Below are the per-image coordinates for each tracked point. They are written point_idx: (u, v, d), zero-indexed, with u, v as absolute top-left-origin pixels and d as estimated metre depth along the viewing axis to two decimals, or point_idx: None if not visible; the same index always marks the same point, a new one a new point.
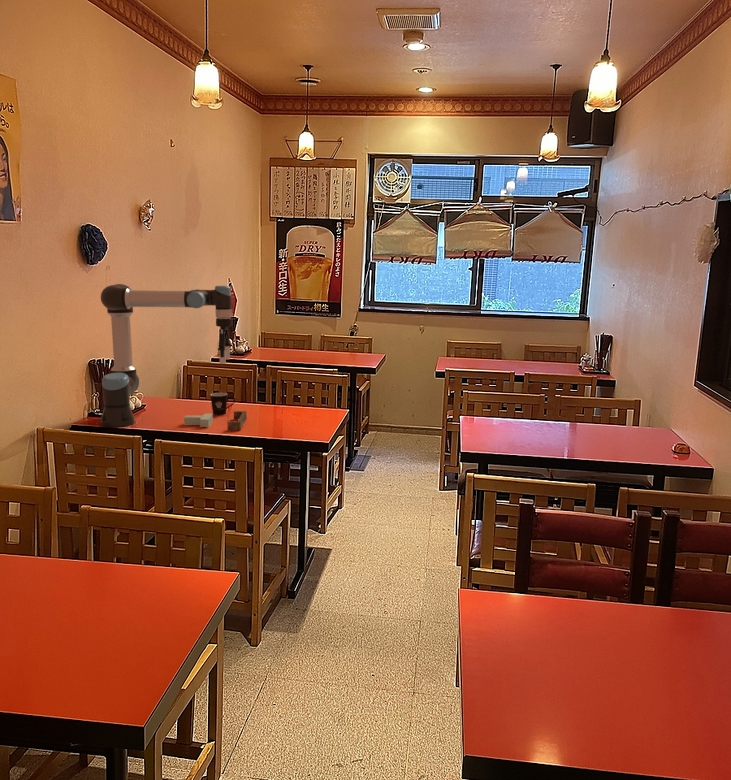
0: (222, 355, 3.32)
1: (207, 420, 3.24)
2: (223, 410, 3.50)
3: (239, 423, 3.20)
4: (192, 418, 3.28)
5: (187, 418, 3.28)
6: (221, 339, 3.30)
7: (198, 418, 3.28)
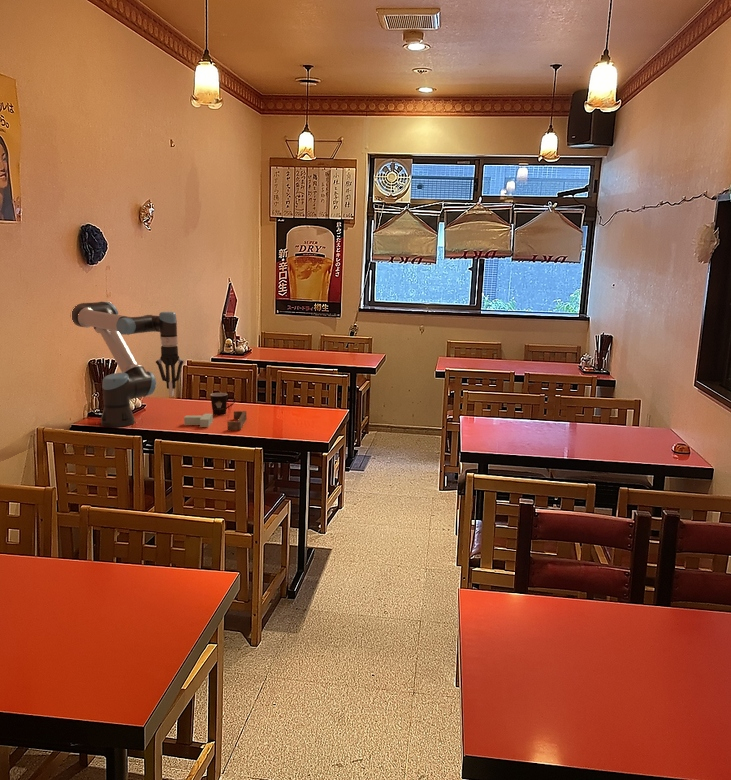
0: None
1: (207, 420, 3.24)
2: (223, 410, 3.50)
3: (239, 423, 3.20)
4: (192, 418, 3.28)
5: (187, 418, 3.28)
6: None
7: (198, 418, 3.28)
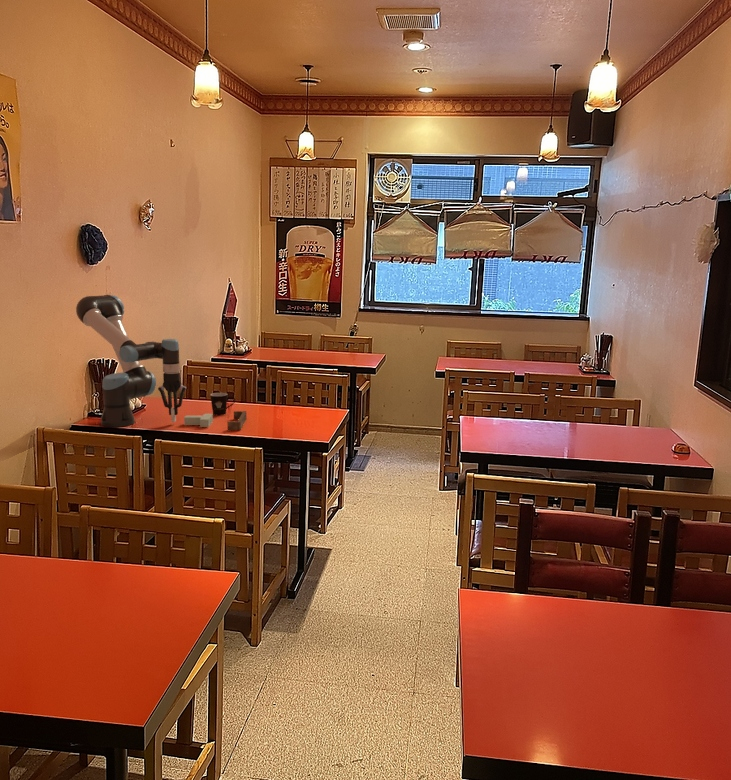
0: None
1: (207, 420, 3.24)
2: (223, 410, 3.50)
3: (239, 423, 3.20)
4: (192, 418, 3.28)
5: (187, 418, 3.28)
6: None
7: (198, 418, 3.28)
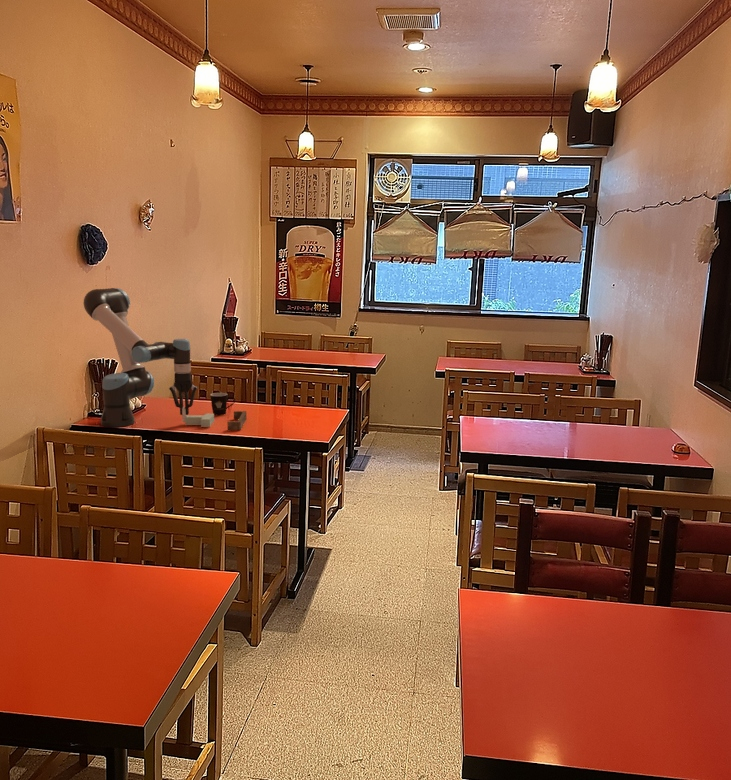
0: None
1: (208, 420, 3.24)
2: (223, 410, 3.50)
3: (239, 423, 3.20)
4: (193, 418, 3.28)
5: (188, 418, 3.28)
6: None
7: (199, 418, 3.28)
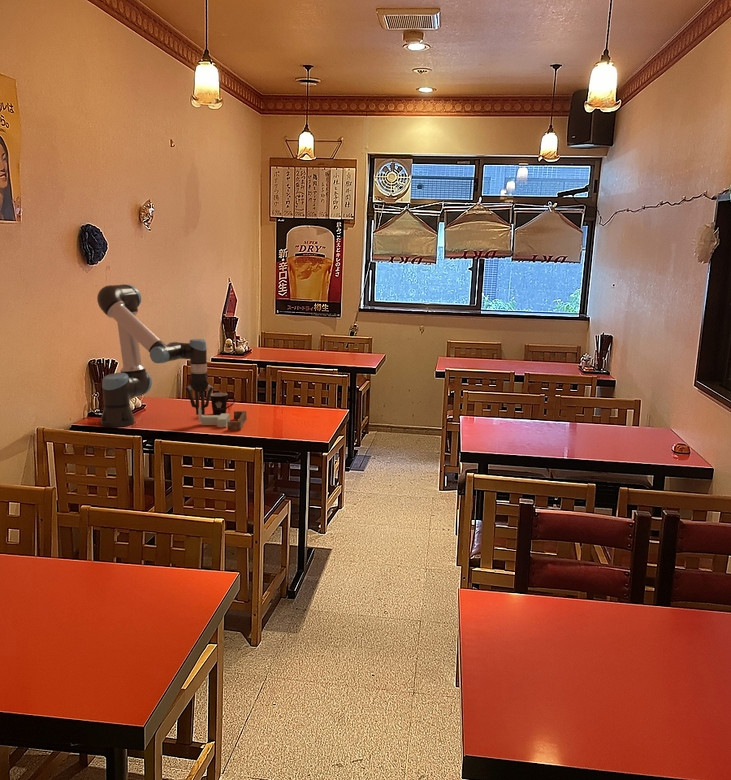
0: None
1: (224, 420, 3.25)
2: (223, 410, 3.50)
3: (239, 423, 3.20)
4: (209, 418, 3.28)
5: (204, 418, 3.28)
6: None
7: (215, 418, 3.28)
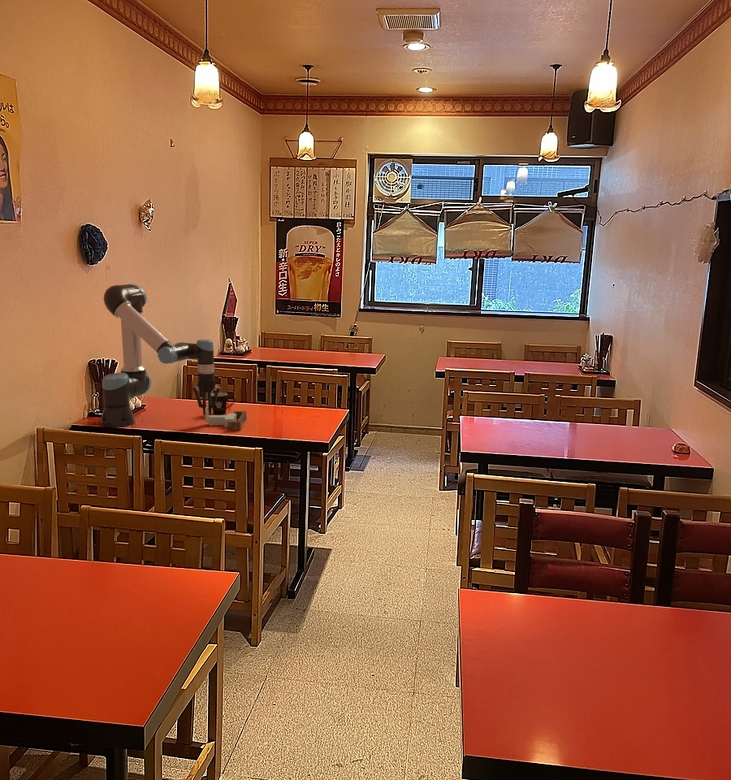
0: (203, 413, 3.29)
1: (232, 420, 3.25)
2: (223, 410, 3.50)
3: (239, 423, 3.20)
4: (216, 418, 3.29)
5: (211, 418, 3.29)
6: None
7: (222, 418, 3.29)
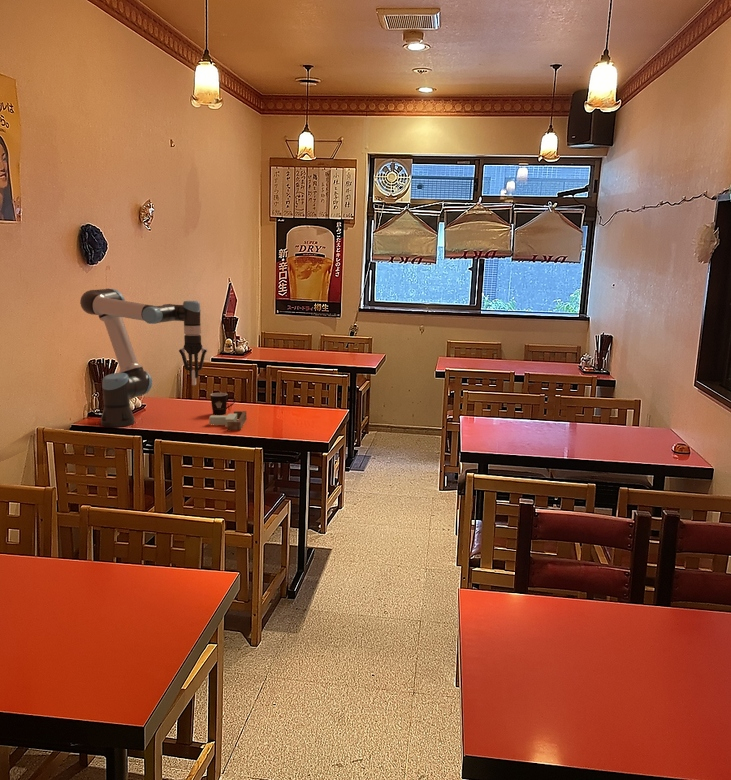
0: None
1: (232, 420, 3.25)
2: (223, 410, 3.50)
3: (239, 423, 3.20)
4: (217, 418, 3.29)
5: (212, 418, 3.29)
6: None
7: (223, 418, 3.29)
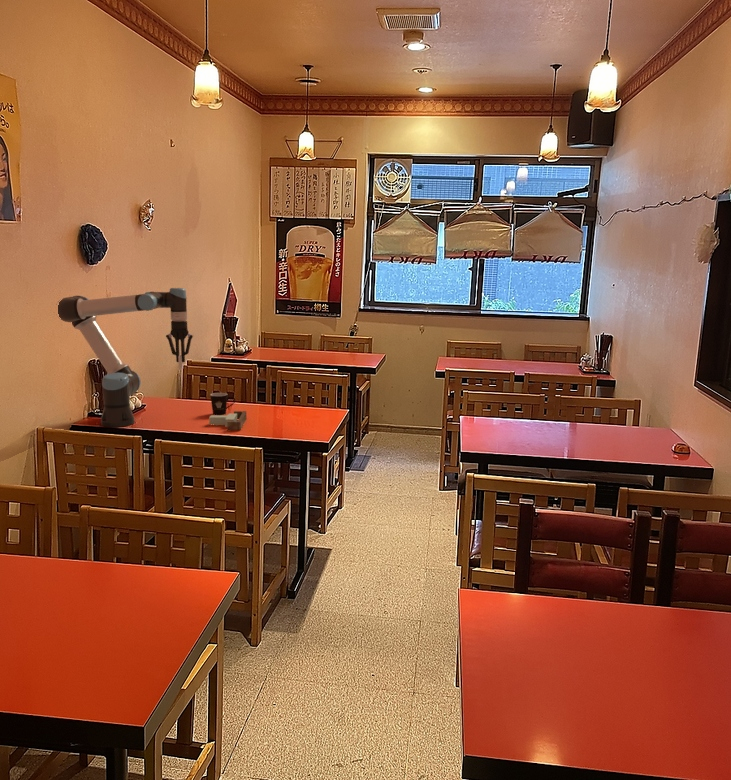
0: None
1: (232, 420, 3.25)
2: (223, 410, 3.50)
3: (239, 423, 3.20)
4: (217, 418, 3.29)
5: (212, 418, 3.29)
6: None
7: (223, 418, 3.29)
